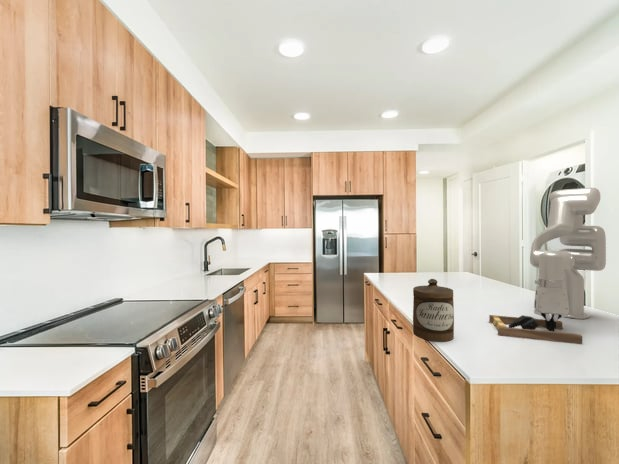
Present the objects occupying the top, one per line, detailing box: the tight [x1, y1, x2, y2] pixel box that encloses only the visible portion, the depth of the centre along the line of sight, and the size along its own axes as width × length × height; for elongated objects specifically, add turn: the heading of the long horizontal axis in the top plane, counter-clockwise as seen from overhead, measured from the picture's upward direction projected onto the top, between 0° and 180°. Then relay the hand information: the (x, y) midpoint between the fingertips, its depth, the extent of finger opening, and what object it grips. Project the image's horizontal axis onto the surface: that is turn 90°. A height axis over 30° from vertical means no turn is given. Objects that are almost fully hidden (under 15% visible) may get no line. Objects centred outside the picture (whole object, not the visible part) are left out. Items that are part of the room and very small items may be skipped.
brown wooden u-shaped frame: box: [488, 314, 583, 345], centre depth 123 cm, size 18×26×3 cm
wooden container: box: [412, 278, 455, 343], centre depth 120 cm, size 15×15×22 cm
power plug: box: [508, 315, 539, 330], centre depth 123 cm, size 6×8×12 cm
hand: (550, 330), depth 121 cm, fingers closed
